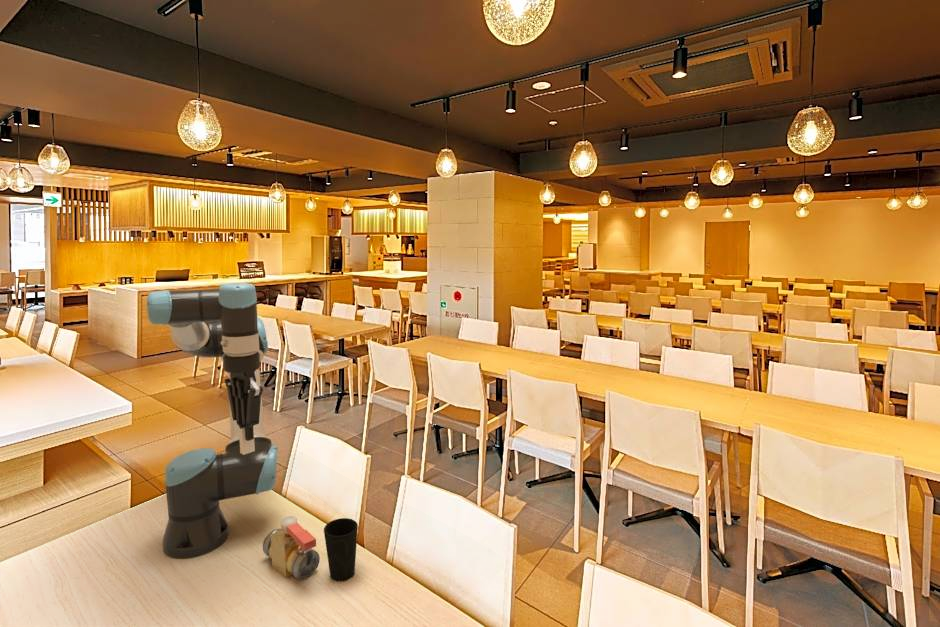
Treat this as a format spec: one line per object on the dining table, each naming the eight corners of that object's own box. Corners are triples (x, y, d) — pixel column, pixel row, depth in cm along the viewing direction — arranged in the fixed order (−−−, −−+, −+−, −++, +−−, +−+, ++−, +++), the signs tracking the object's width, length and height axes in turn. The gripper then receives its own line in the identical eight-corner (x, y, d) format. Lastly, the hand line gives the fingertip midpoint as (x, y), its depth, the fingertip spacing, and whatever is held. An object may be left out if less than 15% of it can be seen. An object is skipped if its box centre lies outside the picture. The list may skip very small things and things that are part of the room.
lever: (278, 527, 122) (278, 520, 122) (293, 522, 125) (293, 514, 125) (302, 552, 113) (302, 543, 113) (317, 545, 116) (317, 537, 115)
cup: (350, 587, 117) (349, 538, 115) (319, 582, 118) (317, 534, 116) (364, 565, 124) (362, 520, 122) (334, 561, 126) (333, 516, 124)
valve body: (263, 560, 126) (261, 523, 124) (287, 547, 131) (285, 512, 129) (295, 585, 117) (293, 545, 116) (320, 570, 122) (318, 532, 121)
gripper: (210, 351, 116) (218, 449, 120) (239, 360, 108) (246, 465, 112) (243, 345, 122) (248, 439, 125) (272, 354, 114) (277, 454, 117)
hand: (247, 451), depth 118 cm, fingers closed
